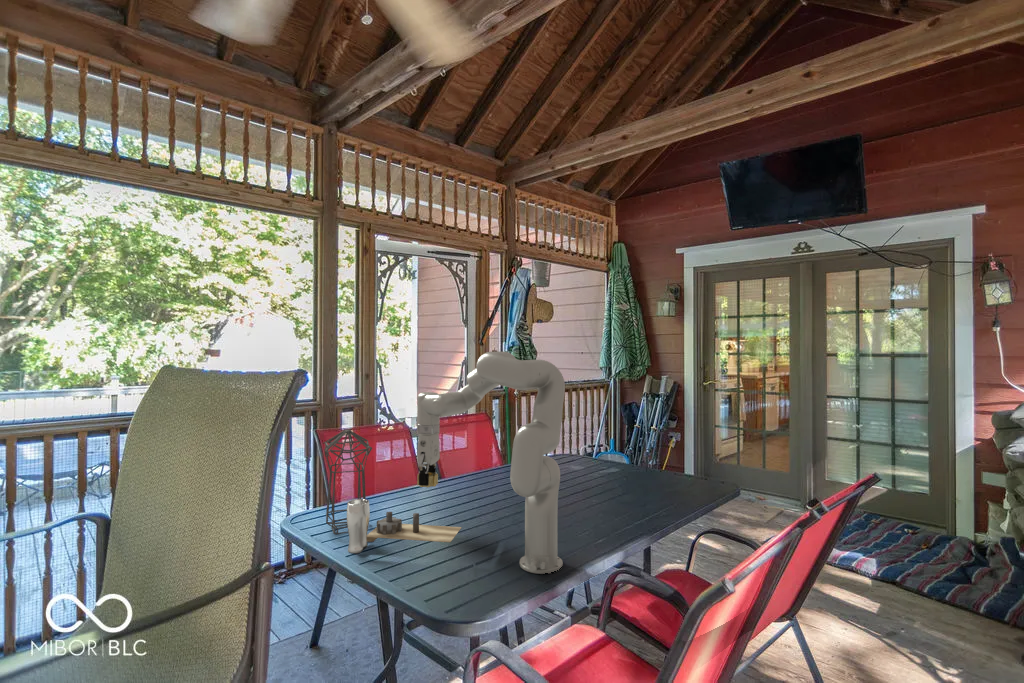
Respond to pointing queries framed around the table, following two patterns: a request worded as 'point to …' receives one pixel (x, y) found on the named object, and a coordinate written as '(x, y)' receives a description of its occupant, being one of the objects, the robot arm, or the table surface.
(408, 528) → the gear board
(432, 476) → the brass gear
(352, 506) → the beer glass
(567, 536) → the table surface
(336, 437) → the geometric lantern
